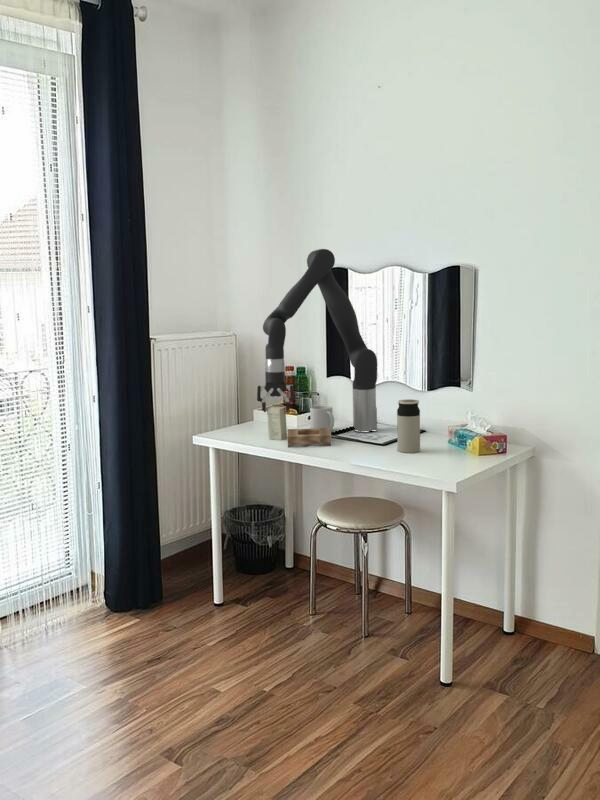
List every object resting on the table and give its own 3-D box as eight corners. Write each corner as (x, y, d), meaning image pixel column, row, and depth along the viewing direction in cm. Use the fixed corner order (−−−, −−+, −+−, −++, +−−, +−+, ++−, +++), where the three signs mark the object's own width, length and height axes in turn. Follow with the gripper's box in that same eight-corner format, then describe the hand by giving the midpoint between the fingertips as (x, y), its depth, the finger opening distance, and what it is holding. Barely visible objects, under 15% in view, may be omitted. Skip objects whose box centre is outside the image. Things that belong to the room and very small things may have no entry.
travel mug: (423, 449, 286) (423, 400, 283) (414, 454, 279) (413, 403, 276) (403, 447, 290) (403, 398, 287) (393, 452, 284) (393, 402, 281)
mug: (311, 429, 328) (310, 405, 326) (334, 429, 327) (333, 404, 325) (310, 435, 317) (309, 410, 315) (334, 434, 316) (333, 409, 315)
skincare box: (287, 438, 312) (286, 407, 310) (281, 440, 308) (280, 409, 306) (273, 436, 315) (272, 406, 313) (267, 439, 312) (266, 408, 310)
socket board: (329, 438, 310) (328, 427, 309) (331, 446, 296) (330, 435, 296) (287, 439, 310) (287, 429, 309) (287, 447, 296) (287, 436, 296)
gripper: (293, 368, 311) (294, 409, 314) (256, 369, 311) (257, 410, 314) (293, 371, 304) (294, 413, 307) (256, 371, 304) (257, 413, 306)
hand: (275, 411), depth 310 cm, fingers open, 8 cm apart
